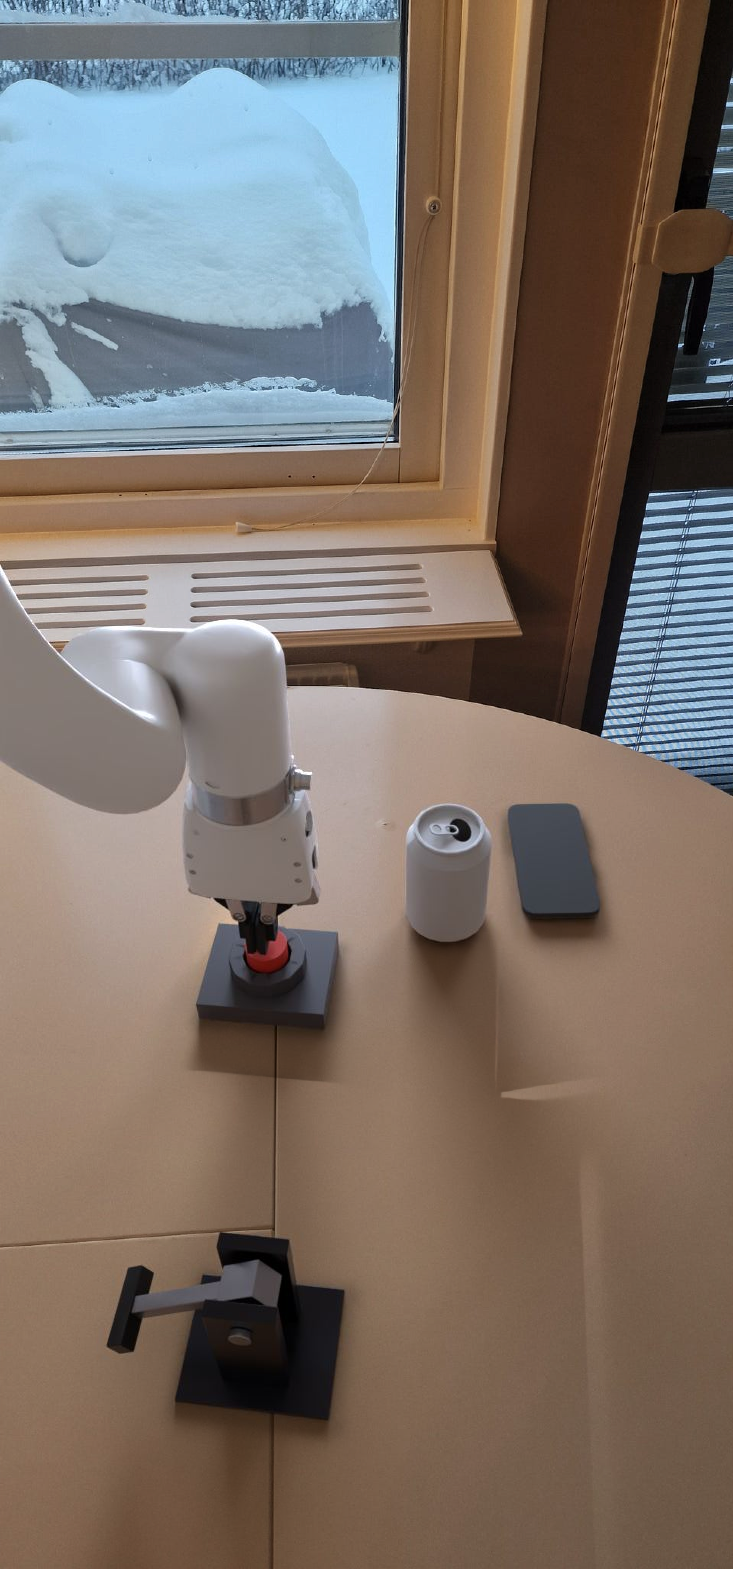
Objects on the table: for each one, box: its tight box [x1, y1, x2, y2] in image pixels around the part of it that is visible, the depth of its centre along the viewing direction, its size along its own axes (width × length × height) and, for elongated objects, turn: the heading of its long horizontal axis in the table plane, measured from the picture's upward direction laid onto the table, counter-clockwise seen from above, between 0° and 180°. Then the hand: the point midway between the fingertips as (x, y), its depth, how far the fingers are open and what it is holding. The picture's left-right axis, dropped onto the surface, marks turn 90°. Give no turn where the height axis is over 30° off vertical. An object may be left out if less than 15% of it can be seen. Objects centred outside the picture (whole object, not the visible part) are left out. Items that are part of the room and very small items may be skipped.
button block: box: [195, 922, 340, 1030], centre depth 91 cm, size 11×9×4 cm
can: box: [405, 803, 493, 943], centre depth 93 cm, size 8×8×12 cm
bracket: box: [174, 1231, 346, 1421], centre depth 66 cm, size 10×8×12 cm
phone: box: [507, 802, 601, 919], centre depth 102 cm, size 7×1×15 cm
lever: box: [105, 1260, 282, 1355], centre depth 65 cm, size 12×5×2 cm
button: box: [245, 930, 288, 973], centre depth 89 cm, size 4×4×2 cm
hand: (260, 941), depth 88 cm, fingers closed
